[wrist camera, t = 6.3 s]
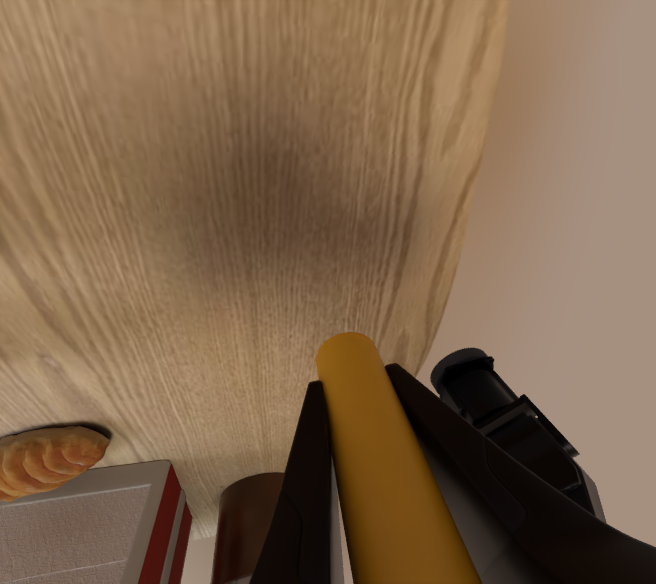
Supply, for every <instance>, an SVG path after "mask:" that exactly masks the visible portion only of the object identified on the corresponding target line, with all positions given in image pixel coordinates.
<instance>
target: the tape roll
mask: <svg viewBox="0 0 656 584" xmlns="http://www.w3.org/2000/svg"><path fill="white" fill-rule="evenodd" d="M251 576H252V575H250V576H246V577H243V578H240V579H238V580H234V581H232V582H230V583H229V584H249V582H250V579H251Z"/></svg>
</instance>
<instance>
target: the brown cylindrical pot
mask: <svg viewBox="0 0 656 584" xmlns="http://www.w3.org/2000/svg"><path fill="white" fill-rule="evenodd" d="M283 477H284V473H266V474H259V475H255V476H251V477H248V478H245V479H242V480H240V481H238V482H236V483H234V484H232V485H231V486H229V487H228V488H227V489H226V490H225V491H224V492H223V494H222V496H221V500H220V509H219V517H218V525H217V534H216V543H215V551H214V559H213V567H212V575H211V583H210V584H229V583H230V582H232V581H234V580H238V579H240V578H243V577H246V576H250V575H252V574H253V571H254V568H255V566H256V563H257V560H258V558H259V555H260V552H261V549H262V546H263V544H264V541H265V538H266V535H267V532H268V529H269V526H270V523H271V519H272V516H273V513H274V509H275V506H276V502H277V499H278V495H279V491H280V490H281V484H282V481H283Z"/></svg>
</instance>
